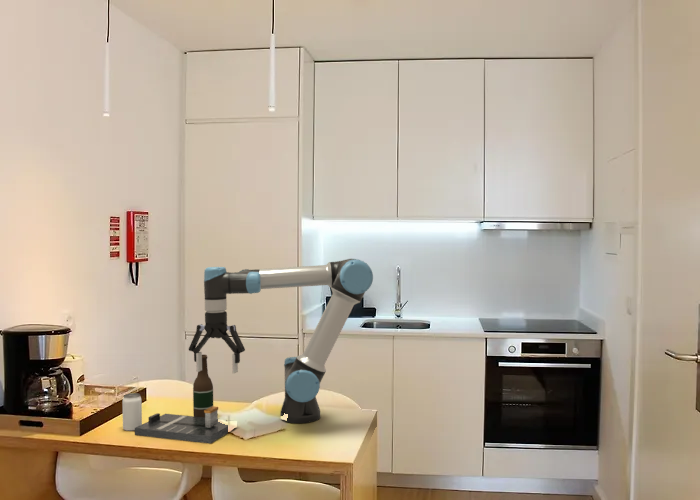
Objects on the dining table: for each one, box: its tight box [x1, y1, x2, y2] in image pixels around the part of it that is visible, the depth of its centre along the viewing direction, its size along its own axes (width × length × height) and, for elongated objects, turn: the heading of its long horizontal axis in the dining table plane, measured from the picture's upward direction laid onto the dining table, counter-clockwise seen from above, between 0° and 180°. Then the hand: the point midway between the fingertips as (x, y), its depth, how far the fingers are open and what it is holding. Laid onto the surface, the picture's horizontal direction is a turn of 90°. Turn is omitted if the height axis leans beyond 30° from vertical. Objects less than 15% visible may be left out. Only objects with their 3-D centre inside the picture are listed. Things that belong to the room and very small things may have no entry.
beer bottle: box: [192, 354, 214, 417], centre depth 235 cm, size 8×8×24 cm
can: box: [122, 392, 143, 432], centre depth 224 cm, size 6×6×12 cm
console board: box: [134, 412, 229, 445], centre depth 220 cm, size 30×18×4 cm, turn 71°
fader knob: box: [204, 405, 219, 428], centre depth 217 cm, size 2×5×6 cm, turn 161°
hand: (217, 371), depth 218 cm, fingers open, 13 cm apart
